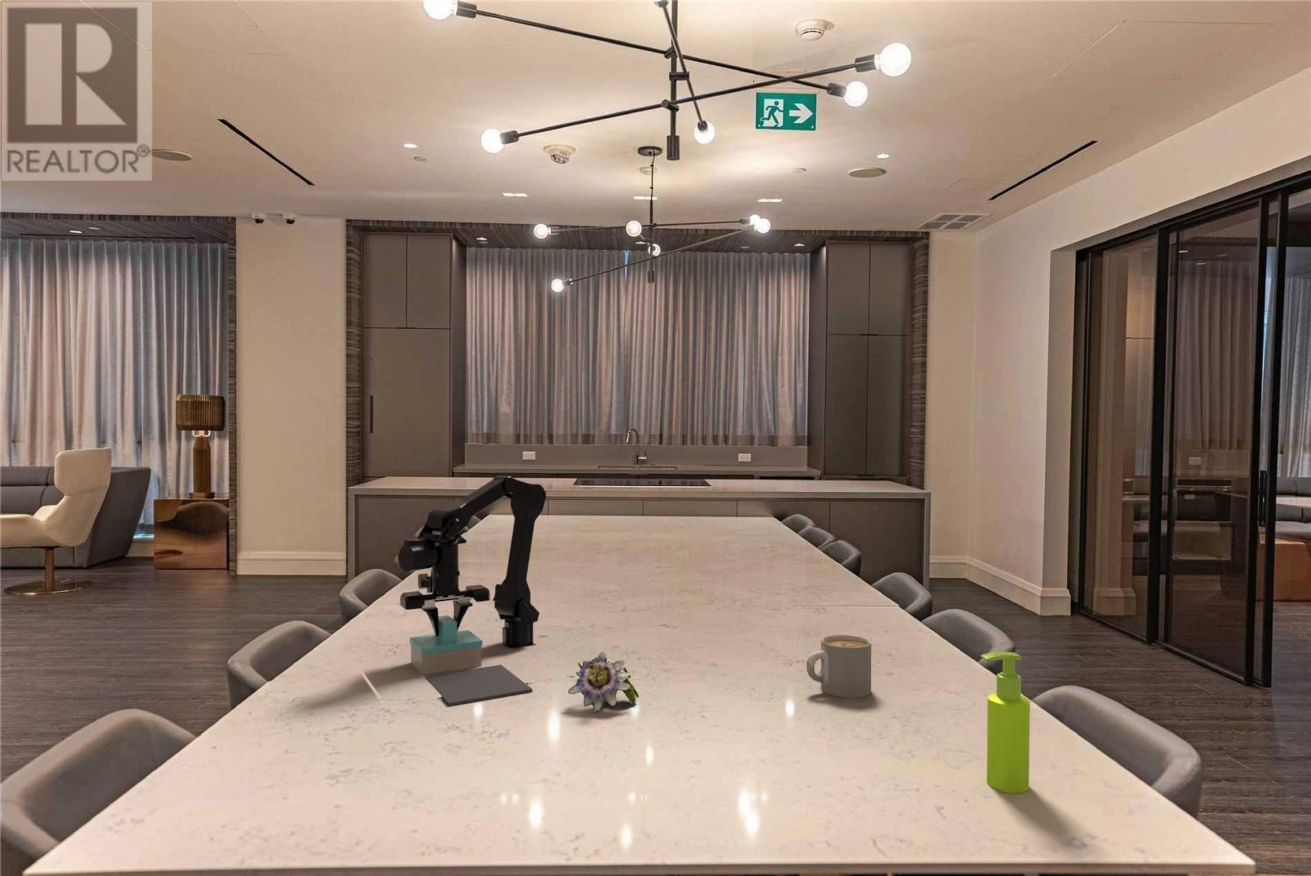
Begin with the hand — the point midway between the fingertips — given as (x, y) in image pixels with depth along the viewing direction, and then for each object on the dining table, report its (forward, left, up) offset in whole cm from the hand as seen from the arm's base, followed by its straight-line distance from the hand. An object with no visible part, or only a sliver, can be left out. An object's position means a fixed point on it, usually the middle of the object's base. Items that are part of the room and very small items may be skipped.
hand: (445, 635), depth 186 cm
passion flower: (-20, +39, -7) cm, 44 cm away
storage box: (0, 0, -7) cm, 7 cm away
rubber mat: (-2, +16, -7) cm, 18 cm away
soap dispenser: (-57, +101, -7) cm, 116 cm away
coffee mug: (-65, +55, -7) cm, 85 cm away
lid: (0, 0, -3) cm, 3 cm away
